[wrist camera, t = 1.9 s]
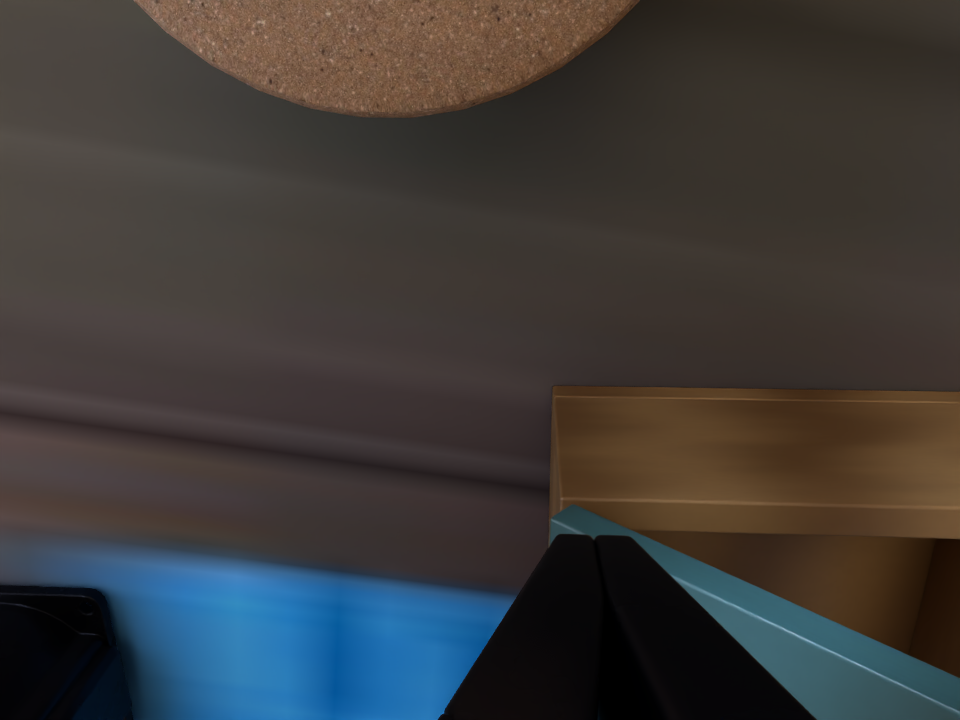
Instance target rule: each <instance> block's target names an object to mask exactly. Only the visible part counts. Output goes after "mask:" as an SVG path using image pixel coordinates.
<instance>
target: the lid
mask: <svg viewBox="0 0 960 720" xmlns="http://www.w3.org/2000/svg"><path fill="white" fill-rule="evenodd" d="M558 534H588V535H590V536H592V538H593V539H595V537H596V536H598V535H627V536H630V537H632V538H633V539H634V540H635V541H636V542H637V543H638V544H639V545H640V546H641V547H642V548H643V549H644V550H645V551H646V552H647V553H648V554H649V555H650V556H651V557H652V558H653V559H655V560H656V561H657V562H658V563H659V564H660V565H661V566H662V567H663V568H664V569H665V570H666V571H667V572H668V573H669V574H670V575H671V576H672V577H673V578H674V579H675V580H676V581H677V582H678V583H679V584H680V585H681V586H682V587H683V588H684V589H685V590H686V591H687V592H688V593H689V594H690V595H691V596H692V597H693V598H694V599H695V600H696V601H697V602H698V603H699V604H700V605H701V606H702V607H703V608H704V609H705V610H706V611H707V612H708V613H709V614H710V615H711V616H712V617H713V618H714V619H715V620H716V621H717V622H718V623H719V624H720V625H722V626H723V627H724V628H725V629H726V630H727V631H728V632H729V633H730V634H731V635H732V636H733V637H734V638H735V639H736V640H737V641H738V642H739V643H740V644H741V645H742V646H743V647H744V648H745V649H746V650H747V651H748V652H749V653H750V654H751V655H752V656H753V657H754V658H755V659H756V660H757V661H758V662H759V663H760V664H761V665H762V666H763V667H764V668H765V669H766V670H767V671H768V672H769V673H770V674H771V675H772V676H773V677H774V678H775V679H776V680H777V681H778V682H779V683H780V684H781V685H782V686H783V687H784V688H785V689H786V690H788V691H789V692H790V693H791V694H792V695H793V696H794V697H795V698H796V699H797V700H798V701H799V702H800V703H801V704H802V705H803V706H804V707H805V708H806V709H807V710H808V711H809V712H810V713H811V714H812V715H813V716H814V717H815V718H816V719H817V720H960V678H958V677H956V676H954V675H952V674H949V673H947V672H945V671H943V670H941V669H938V668H936V667H934V666H932V665H929V664H927V663H925V662H923V661H921V660H918V659H916V658H914V657H912V656H910V655H907V654H905V653H903V652H901V651H898V650H896V649H894V648H892V647H890V646H887V645H885V644H883V643H881V642H878V641H876V640H874V639H872V638H870V637H867V636H865V635H863V634H861V633H859V632H856V631H854V630H852V629H850V628H847V627H845V626H843V625H841V624H839V623H836V622H834V621H832V620H830V619H828V618H825V617H823V616H821V615H819V614H816V613H814V612H812V611H810V610H808V609H805V608H803V607H801V606H799V605H797V604H794V603H792V602H790V601H788V600H785V599H783V598H781V597H779V596H777V595H774V594H772V593H770V592H768V591H765V590H763V589H761V588H759V587H757V586H754V585H752V584H750V583H748V582H746V581H743V580H741V579H739V578H737V577H734V576H732V575H730V574H728V573H726V572H723V571H721V570H719V569H717V568H715V567H712V566H710V565H708V564H706V563H703V562H701V561H699V560H697V559H695V558H692V557H690V556H688V555H686V554H683V553H681V552H679V551H677V550H675V549H672V548H670V547H668V546H666V545H664V544H661V543H659V542H657V541H655V540H652V539H650V538H648V537H646V536H644V535H641V534H639V533H637V532H635V531H633V530H630V529H628V528H626V527H624V526H621V525H619V524H617V523H615V522H613V521H610V520H608V519H606V518H604V517H602V516H599V515H597V514H595V513H593V512H590V511H588V510H586V509H584V508H582V507H579V506H577V505H575V504H571V505H570V506H568V507H567V508H565V509H564V510H562V511H561V512H559V513H557V514H556V515H554V516H553V517H552V518H551V520H550V544H551V543H552V541H553V540H554V538H555V537H556V536H557V535H558Z"/></svg>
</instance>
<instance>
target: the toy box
mask: <svg viewBox="0 0 960 720" xmlns="http://www.w3.org/2000/svg"><path fill="white" fill-rule="evenodd" d="M571 504H575V505H577V506H579V507H582V508H584V509H586V510H588V511H590V512H593V513H595V514H597V515H599V516H602V517H604V518H606V519H608V520H610V521H613V522H615V523H617V524H619V525H621V526H624V527H626V528H628V529H630V530H633V531H635V532H637V533H639V534H641V535H644V536H646V537H648V538H650V539H652V540H655V541H657V542H659V543H661V544H664V545H666V546H668V547H670V548H672V549H675V550H677V551H679V552H681V553H683V554H686V555H688V556H690V557H692V558H695V559H697V560H699V561H701V562H703V563H706V564H708V565H710V566H712V567H715V568H717V569H719V570H721V571H723V572H726V573H728V574H730V575H732V576H734V577H737V578H739V579H741V580H743V581H746V582H748V583H750V584H752V585H754V586H757V587H759V588H761V589H763V590H765V591H768V592H770V593H772V594H774V595H777V596H779V597H781V598H783V599H785V600H788V601H790V602H792V603H794V604H797V605H799V606H801V607H803V608H805V609H808V610H810V611H812V612H814V613H816V614H819V615H821V616H823V617H825V618H828V619H830V620H832V621H834V622H836V623H839V624H841V625H843V626H845V627H847V628H850V629H852V630H854V631H856V632H859V633H861V634H863V635H865V636H867V637H870V638H872V639H874V640H876V641H878V642H881V643H883V644H885V645H887V646H890V647H892V648H894V649H896V650H898V651H901V652H903V653H905V654H907V655H910V656H912V657H914V658H916V659H918V660H921V661H923V662H925V663H927V664H929V665H932V666H934V667H936V668H938V669H941V670H943V671H945V672H947V673H949V674H952V675H954V676H956V677H958V678H960V392H939V391H872V390H805V389H739V388H672V387H605V386H553V388H552V422H551V460H550V498H549V535H548V548H549V546H550V520H551V518H552V517H553V516H554V515H556V514H557V513H559V512H561V511H562V510H564V509H565V508H567V507H568V506H570V505H571Z"/></svg>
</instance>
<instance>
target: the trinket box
mask: <svg viewBox="0 0 960 720" xmlns="http://www.w3.org/2000/svg"><path fill="white" fill-rule="evenodd" d="M134 1H135V2H136V3H137V4H138V5H139V6H140V7H141V8H142V9H143V10H144V11H145V12H146V13H147V14H148V15H149V16H150V17H151V18H152V19H153V20H154V21H155V22H156V23H157V24H158V25H159V26H160V27H161V28H162V29H163V30H164V31H166V32H167V33H168V34H170V35H171V36H172V37H174V38H175V39H176V40H178V41H179V42H180V43H182V44H183V45H185V46H186V47H187V48H189V49H190V50H191V51H193V52H194V53H195V54H197V55H198V56H199V57H201V58H202V59H203V60H205V61H206V62H208V63H209V64H210V65H212V66H214V67H216V68H217V69H219V70H221V71H223V72H225V73H227V74H229V75H231V76H233V77H234V78H236V79H238V80H240V81H242V82H244V83H246V84H248V85H249V86H251V87H253V88H255V89H257V90H259V91H262V92H264V93H267V94H270V95H273V96H276V97H279V98H282V99H284V100H287V101H290V102H293V103H296V104H299V105H302V106H304V107H307V108H311V109H317V110H322V111H328V112H334V113H339V114H345V115H351V116H356V117H389V118H413V117H420V116H426V115H432V114H439V113H445V112H451V111H458V110H463V109H466V108H469V107H472V106H475V105H478V104H481V103H484V102H487V101H491V100H494V99H497V98H500V97H503V96H506V95H509V94H512V93H514V92H516V91H518V90H520V89H522V88H523V87H525V86H527V85H529V84H531V83H533V82H535V81H537V80H539V79H541V78H543V77H544V76H546V75H548V74H550V73H552V72H554V71H556V70H558V69H560V68H561V67H563V66H564V65H566V64H567V63H568V62H570V61H571V60H572V59H574V58H575V57H576V56H578V55H579V54H580V53H582V52H583V51H584V50H586V49H587V48H588V47H590V46H591V45H592V44H594V43H595V42H597V41H598V40H599V39H601V38H602V37H603V36H605V35H606V34H607V33H608V32H609V31H610V30H611V29H612V28H613V27H614V26H615V25H616V24H617V23H618V22H619V21H620V20H621V19H622V18H623V17H624V16H625V15H626V14H627V13H628V12H629V11H630V10H631V9H632V8H633V7H634V6H635V5H636V4H637V3H638V2H639V1H640V0H134Z"/></svg>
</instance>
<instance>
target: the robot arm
mask: <svg viewBox="0 0 960 720" xmlns="http://www.w3.org/2000/svg"><path fill="white" fill-rule="evenodd" d="M87 603H89V604H90V605H92V606H89V605H88V604H87ZM0 720H133V715H132V711H131V700H130V695H129V691H128V686H127V682H126V677H125V673H124V669H123V664H122V660H121V655H120V652H119V651H118V649H117V645H116V640H115V636H114V632H113V627H112V623H111V618H110V614H109V610H108V605H107V601H106V599H105V596H104V595H103V594H102V593H101V592H99V591H97V590H95V589H91V588H66V587H35V586H4V585H0ZM438 720H817V719H816V718H815V717H814V716H813V715H812V714H811V713H810V712H809V711H808V710H807V709H806V708H805V707H804V706H803V705H802V704H801V703H800V702H799V701H798V700H797V699H796V698H795V697H794V696H793V695H792V694H791V693H790V692H789V691H788V690H786V689H785V688H784V687H783V686H782V685H781V684H780V683H779V682H778V681H777V680H776V679H775V678H774V677H773V676H772V675H771V674H770V673H769V672H768V671H767V670H766V669H765V668H764V667H763V666H762V665H761V664H760V663H759V662H758V661H757V660H756V659H755V658H754V657H753V656H752V655H751V654H750V653H749V652H748V651H747V650H746V649H745V648H744V647H743V646H742V645H741V644H740V643H739V642H738V641H737V640H736V639H735V638H734V637H733V636H732V635H731V634H730V633H729V632H728V631H727V630H726V629H725V628H724V627H723V626H722V625H720V624H719V623H718V622H717V621H716V620H715V619H714V618H713V617H712V616H711V615H710V614H709V613H708V612H707V611H706V610H705V609H704V608H703V607H702V606H701V605H700V604H699V603H698V602H697V601H696V600H695V599H694V598H693V597H692V596H691V595H690V594H689V593H688V592H687V591H686V590H685V589H684V588H683V587H682V586H681V585H680V584H679V583H678V582H677V581H676V580H675V579H674V578H673V577H672V576H671V575H670V574H669V573H668V572H667V571H666V570H665V569H664V568H663V567H662V566H661V565H660V564H659V563H658V562H657V561H656V560H655V559H653V558H652V557H651V556H650V555H649V554H648V553H647V552H646V551H645V550H644V549H643V548H642V547H641V546H640V545H639V544H638V543H637V542H636V541H635V540H634V539H633V538H632V537H630V536H627V535H598V536H596V537H595V539H593V538H592V536H590V535H588V534H558V535H557V536H556V537H555V538H554V540H553V541H552V543H551V544H550V546H549V548H548V549H547V551H546V552H545V554H544V555H543V557H542V558H541V560H540V562H539V563H538V565H537V566H536V568H535V569H534V571H533V572H532V574H531V576H530V577H529V579H528V580H527V582H526V583H525V585H524V587H523V588H522V590H521V591H520V593H519V594H518V596H517V597H516V599H515V601H514V602H513V604H512V605H511V607H510V608H509V610H508V611H507V613H506V615H505V616H504V618H503V619H502V621H501V622H500V624H499V626H498V627H497V629H496V630H495V632H494V633H493V635H492V636H491V638H490V640H489V641H488V643H487V644H486V646H485V647H484V649H483V650H482V652H481V654H480V655H479V657H478V658H477V660H476V661H475V663H474V665H473V666H472V668H471V669H470V671H469V672H468V674H467V675H466V677H465V679H464V680H463V682H462V683H461V685H460V686H459V688H458V690H457V691H456V693H455V694H454V696H453V697H452V699H451V700H450V702H449V704H448V705H447V707H446V708H445V711H444V714H442V715H441V716H440V717H439V718H438Z"/></svg>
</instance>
